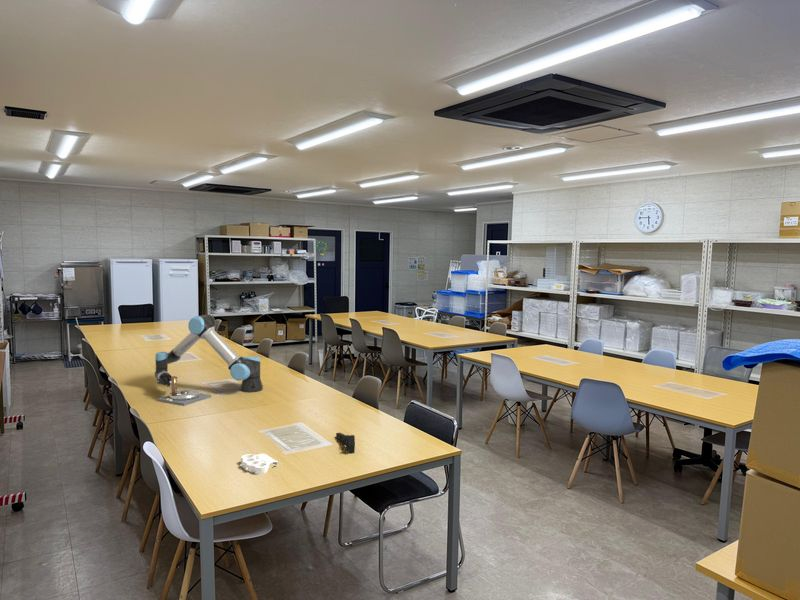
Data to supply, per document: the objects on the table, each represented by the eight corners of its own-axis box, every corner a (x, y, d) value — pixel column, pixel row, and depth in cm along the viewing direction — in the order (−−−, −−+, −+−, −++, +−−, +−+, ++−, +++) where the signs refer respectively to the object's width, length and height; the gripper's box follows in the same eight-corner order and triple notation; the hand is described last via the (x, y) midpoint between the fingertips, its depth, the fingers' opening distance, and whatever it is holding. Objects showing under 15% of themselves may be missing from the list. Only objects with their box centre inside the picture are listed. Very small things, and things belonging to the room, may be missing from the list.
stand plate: (211, 397, 348) (211, 393, 348) (184, 405, 327) (184, 402, 327) (185, 392, 357) (185, 389, 357) (157, 401, 336) (156, 397, 336)
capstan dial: (205, 394, 346) (205, 373, 345) (183, 401, 330) (182, 379, 329) (185, 391, 354) (185, 370, 353) (163, 397, 338) (162, 376, 337)
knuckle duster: (282, 469, 235) (251, 477, 225) (262, 457, 249) (233, 465, 239) (282, 461, 235) (251, 470, 225) (262, 450, 248) (233, 457, 239)
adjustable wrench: (341, 446, 276) (355, 453, 253) (336, 447, 275) (349, 454, 252) (340, 430, 277) (354, 435, 254) (335, 430, 276) (349, 436, 253)
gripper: (175, 382, 360) (183, 389, 341) (154, 384, 353) (161, 392, 334) (174, 371, 360) (183, 378, 340) (154, 373, 352) (161, 380, 333)
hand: (172, 385), depth 337 cm, fingers closed
